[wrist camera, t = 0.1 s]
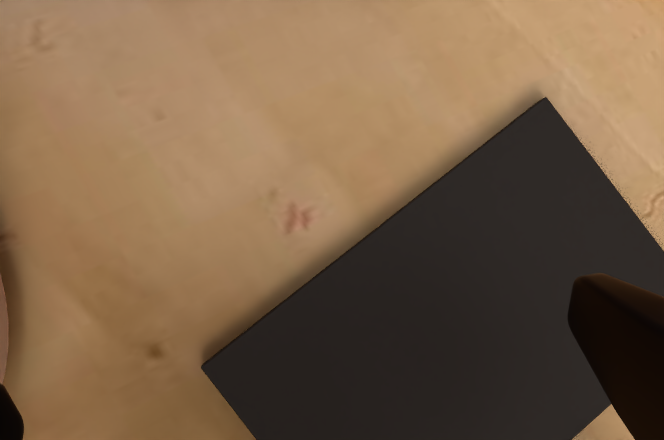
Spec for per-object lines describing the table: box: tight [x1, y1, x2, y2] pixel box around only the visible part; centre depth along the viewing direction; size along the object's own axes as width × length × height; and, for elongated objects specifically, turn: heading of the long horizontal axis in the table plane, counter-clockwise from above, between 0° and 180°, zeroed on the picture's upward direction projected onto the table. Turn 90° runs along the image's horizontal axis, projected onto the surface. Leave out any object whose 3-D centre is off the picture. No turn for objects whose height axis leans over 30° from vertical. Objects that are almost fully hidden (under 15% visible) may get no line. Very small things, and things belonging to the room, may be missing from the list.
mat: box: [201, 97, 664, 440], centre depth 23 cm, size 13×20×1 cm, turn 128°
